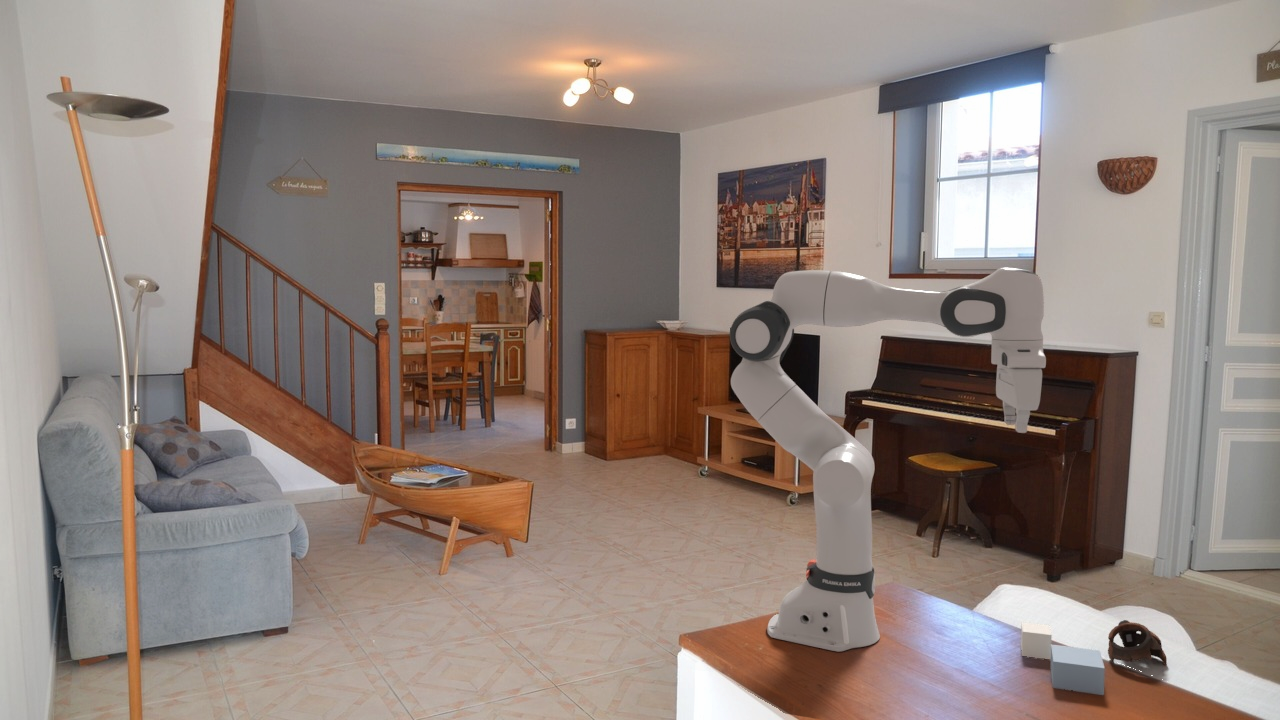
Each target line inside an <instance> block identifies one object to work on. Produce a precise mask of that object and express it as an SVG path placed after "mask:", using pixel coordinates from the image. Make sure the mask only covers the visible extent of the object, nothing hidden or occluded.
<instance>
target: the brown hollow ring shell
mask: <svg viewBox="0 0 1280 720" xmlns="http://www.w3.org/2000/svg"><path fill="white" fill-rule="evenodd" d="M1117 624H1118V625H1116V626H1115V627H1114V628H1112V629H1111V630H1110V632H1109V633H1108V648H1107V654H1108V657H1109V660H1110V662H1114V661H1115V660H1117V661H1121V662H1122V661H1123V662H1133V661H1134V662H1135V661H1136V662H1137V661H1140V660H1144V659H1145V660H1146V659H1147V660H1149V661H1153V657H1157V658H1159V659H1160V660H1161V662H1162V663H1163V665H1164V666H1167V665H1168V663H1167V655H1166V654H1165V651H1164V650H1163V648H1162V647H1163V646H1162V641H1161V639H1160V638H1159V636H1157V635H1156V634H1155V633H1154V632H1153V631H1151V630H1150V629H1149V628H1148V627H1147V626H1145V625H1143V624H1141V623H1139V622H1138V623H1137V622H1130V621H1129V620H1127V619H1123V620H1121V621H1119V622H1118V623H1117ZM1138 632H1140V633H1138ZM1116 636H1119V638H1120V639H1121V642H1122V645H1123V646H1122V645H1119V644H1117V643H1116V642H1115V641H1114V639H1115V638H1116Z"/></svg>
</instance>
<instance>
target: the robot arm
mask: <svg viewBox="0 0 1280 720" xmlns="http://www.w3.org/2000/svg"><path fill="white" fill-rule="evenodd" d="M1044 297H1045V296H1044V287H1043V282H1042V280H1041V278H1040V276H1039V275H1038V274H1036V273H1035V272H1034V271H1031V270H1028V269H1021V268H1014V267H1008V266H1007V267H999V268H997V269H996V270H995V271H994V272H992V273H991V274H989V275H987V276H985V277H984V278H981V279H979V280H976V281H974V282H972V283H970V284H969V283H968V284H966V285H961V286H960V285H959V286H958V287H954V288H952V289H949V290H946V291H945V290H944V291H928V290H927V291H925V290H915V289H906V288H905V289H904V288H897V287H894V286H893V287H892V286H888V285H885V284H883V283H881V282H877V281H875V280H874V279H870V278H869V277H866V276H862V275H858V274H854V273H850V272H845V271H843V272H842V271H837V270H826V269H825V270H824V269H822V270H820V269H810V270H809V269H808V270H806V269H805V270H795V271H794V270H793V271H787V272H785V273H783V274H782V275H780V276H779V277H778V279H777V281H776V282H775V284H774V286H773V292H772V296H771V299H770V301H769V300H766V301H763V302H761V303H759V304H756V305H755V306H751V307H749V308H747V309H746V310H744V311H742V312H741V313H739V314H738V315H737V316H736V318H734V320H733V321H732V324H731V326H730V330H729V339H730V344H731V346H732V348H733V350H734V351H735V353H736V354H737V355H739V356H740V357H742V359H741V361H740V363H739V364H738V365H737V366H736V367H735V369H734V370H733V371H732V374H731V377H730V386H731V389H732V391H733V393H734V395H736V397H737V398H738V399H739V401H740V403H741V404H742V405H743V407H744V408H745V409H746V410H747V412H748V413H749V414H750V415H751V417H753V418H754V420H755V421H756V422H757V423H758V424H759V425H760V426H761V427H762V428H763V429H764V430H765V431H766V432H767V433H768V434H769V435H770V436H771V438H773V440H775V441H776V443H778V445H779V446H780V447H781V448H782V449H783V450H785V451H786V452H788V453H790V454H791V455H793V456H794V457H795V458H797V460H799V461H801V463H802V464H805V465H806V466H807V467H808V468H809V469H810V470H812V471H813V474H812V485H813V501H814V502H813V504H814V506H813V507H814V517H815V524H816V528H815V529H816V552H815V553H816V559H814V558H813V559H810V560H809V561H808V562H807V567H806V569H805V570H806V574H805V576H806V581H804V582H803V583H802V584H800V585H797V587H795V588H794V589H792V590H791V591H789V592H788V593H786V595H785V596H784V598H783V599H782V600H781V603H780V606H779V611H778V613H779V614H777V613H775V614H776V615H775V614H774V615H773V616H772V617H770V619H769V621H768V624H767V628H766V629H767V631H766V632H767V634H768V636H769V637H770V638H774V639H777V640H782V641H787V642H789V643H795V644H799V645H805V646H810V647H814V648H818V649H819V648H820V649H823V650H828V651H833V652H844V651H847V650H850V649H856V648H862V647H867V646H871V645H873V644H875V643H877V642H878V641H879V639H880V638H881V635H880V632H879V627H878V625H877V624H878V623H877V621H876V615H875V614H876V613H875V605H874V595H875V589H876V575H875V568H874V567H873V522H872V521H873V520H872V495H871V494H872V492H871V491H872V490H871V489H872V482H873V477H874V474H875V470H876V469H875V466H876V465H875V460H874V457H873V456H872V454H871V452H870V450H868V449H867V448H866V447H865V446H864V445H862V443H861V442H860V441H859V440H857V439H856V438H855V436H853V435H852V434H851V433H849V432H848V431H847V430H846V429H844V427H843V426H841V425H840V424H839V423H837V422H836V421H835V420H834V419H832V418H831V417H830V416H829V415H827V414H826V413H825V412H824V411H823V410H822V409H821V408H820V407H819V406H818V405H817V404H816V403H815V402H814V401H813V400H812V399H811V398H810V397H809V395H807V394H806V393H805V392H804V390H802V389H801V388H800V387H799V386H798V385H797V384H796V382H795V381H793V379H791V378H790V376H789V375H788V374H787V373H786V372H785V371H784V369H783V368H782V366H781V364H780V363H781V362H782V361H783V359H784V356H785V355H786V353H787V351H788V349H789V348H790V345H792V344H791V343H792V342H793V339H794V333H795V328H796V327H798V326H802V325H813V326H822V327H833V328H850V327H859V326H860V327H861V326H865V325H868V324H869V325H870V324H872V323H877V322H881V321H883V322H884V321H891V320H892V321H894V320H897V321H910V322H920V323H930V324H935V325H939V326H942V327H944V328H946V330H948V331H949V332H950V333H951V334H953V335H955V336H958V337H962V338H974V337H977V336H979V335H983V334H990V335H991V350H990V351H991V353H990V355H991V357H990V358H991V359H990V360H991V362H990V363H991V364H992V365H997V367H996V379H995V382H996V383H995V395H996V397H997V399H999V400H1000V401H1002V408H1003V415H1004V417H1003V418H1004V421H1003V422H1004V424H1006V425H1008V426H1010V425H1011V426H1014V431H1015V432H1017V433H1021V434H1025V433H1027V432H1028V423H1029V421H1030V419H1029V418H1030V416H1031V415H1030V414H1031V411H1037V410H1039V406H1040V403H1041V393H1042V384H1043V370H1042V369H1045V368H1046V365H1047V357H1046V355H1045V353H1044V335H1043V332H1042V321H1043V320H1044V316H1045V313H1044V312H1045V310H1044V309H1045V308H1044V307H1045V306H1044V305H1045V302H1044Z"/></svg>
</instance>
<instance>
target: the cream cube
mask: <svg viewBox="0 0 1280 720" xmlns="http://www.w3.org/2000/svg"><path fill="white" fill-rule="evenodd" d="M1020 628H1021V629H1020V630H1021V631H1020V649H1021V650H1022V651H1021V657H1022V656H1027V657H1026V658H1029V657H1035V658H1034V659H1037V658H1045V659H1051V644H1052V638H1053V637H1052V636H1053V635H1052V632H1051V626H1050V625H1047V624H1039V623H1031V622H1022V621H1021V626H1020Z"/></svg>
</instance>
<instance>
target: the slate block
mask: <svg viewBox="0 0 1280 720" xmlns="http://www.w3.org/2000/svg"><path fill="white" fill-rule="evenodd" d="M1101 653H1102V652H1101V651H1100V649H1092V648H1091V649H1090V648H1082V647H1074V646H1067V645H1059V644H1052V643H1051V660H1050V667H1049V668H1050V669H1051V670H1050V676H1051V677H1050V678H1051V684H1052V688H1053V689H1056V690H1057V689H1059V690H1064V689H1065V690H1066V691H1071V690H1073V691H1072V692H1079V693H1085V694H1093V695H1097V696H1098V695H1100V696H1104V695H1105V675H1106V674H1105V671H1106V669H1105V668H1106V667H1105V664H1104V661H1103V657H1102V654H1101ZM1067 689H1068V690H1067Z"/></svg>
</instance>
